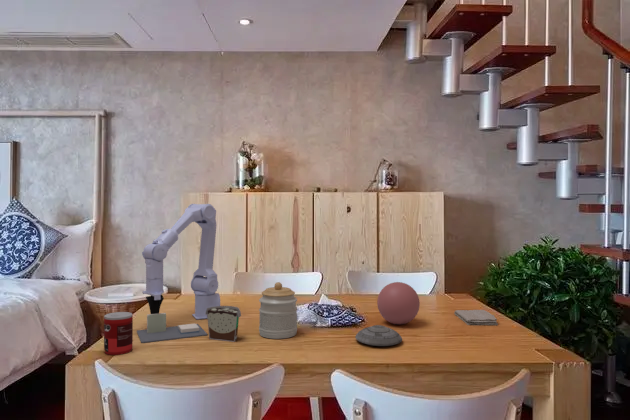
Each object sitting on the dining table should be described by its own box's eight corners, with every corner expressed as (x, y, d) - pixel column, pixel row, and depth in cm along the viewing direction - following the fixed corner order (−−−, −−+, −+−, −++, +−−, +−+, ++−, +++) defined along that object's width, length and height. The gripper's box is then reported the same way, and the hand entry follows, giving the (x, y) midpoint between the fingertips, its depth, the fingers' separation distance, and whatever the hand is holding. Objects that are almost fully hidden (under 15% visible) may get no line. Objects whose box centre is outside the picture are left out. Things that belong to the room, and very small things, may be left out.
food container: (247, 337, 156) (247, 307, 156) (238, 342, 151) (238, 311, 150) (215, 333, 160) (215, 304, 160) (205, 338, 155) (205, 308, 154)
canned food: (109, 347, 144) (109, 311, 144) (136, 347, 145) (135, 311, 145) (99, 355, 137) (99, 318, 137) (128, 355, 137) (128, 317, 137)
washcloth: (468, 327, 172) (468, 318, 172) (453, 315, 190) (453, 307, 190) (500, 327, 173) (500, 318, 172) (482, 315, 190) (482, 307, 190)
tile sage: (165, 330, 163) (165, 312, 163) (166, 331, 162) (166, 313, 162) (147, 332, 160) (147, 314, 160) (147, 333, 159) (147, 315, 159)
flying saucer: (391, 352, 142) (391, 334, 141) (347, 344, 149) (347, 326, 149) (409, 340, 154) (409, 323, 154) (367, 333, 162) (367, 317, 162)
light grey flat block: (195, 323, 166) (199, 327, 161) (195, 327, 166) (199, 332, 161) (178, 325, 163) (181, 329, 158) (178, 329, 163) (181, 334, 158)
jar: (267, 341, 151) (267, 286, 151) (253, 331, 163) (253, 280, 163) (303, 336, 157) (303, 283, 157) (287, 327, 169) (287, 278, 169)
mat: (197, 324, 172) (197, 323, 172) (207, 335, 158) (207, 334, 158) (136, 331, 162) (136, 330, 162) (141, 343, 149) (141, 342, 149)
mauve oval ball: (408, 315, 188) (408, 276, 187) (425, 328, 168) (425, 285, 168) (370, 316, 186) (370, 277, 186) (383, 329, 166) (383, 286, 166)
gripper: (140, 276, 170) (140, 313, 170) (144, 282, 157) (144, 322, 157) (160, 274, 173) (160, 311, 173) (166, 280, 160) (166, 320, 160)
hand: (154, 316), depth 165 cm, fingers closed
